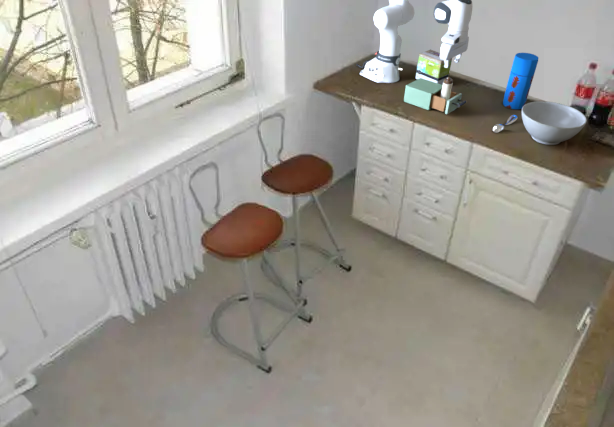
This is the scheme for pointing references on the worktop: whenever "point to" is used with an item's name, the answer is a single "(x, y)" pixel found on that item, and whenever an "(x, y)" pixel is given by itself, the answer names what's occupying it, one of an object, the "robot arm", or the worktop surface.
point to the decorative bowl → (552, 121)
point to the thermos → (520, 80)
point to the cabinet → (421, 92)
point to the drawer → (451, 103)
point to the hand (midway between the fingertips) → (451, 64)
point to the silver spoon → (501, 126)
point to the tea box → (432, 67)
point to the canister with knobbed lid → (446, 89)
